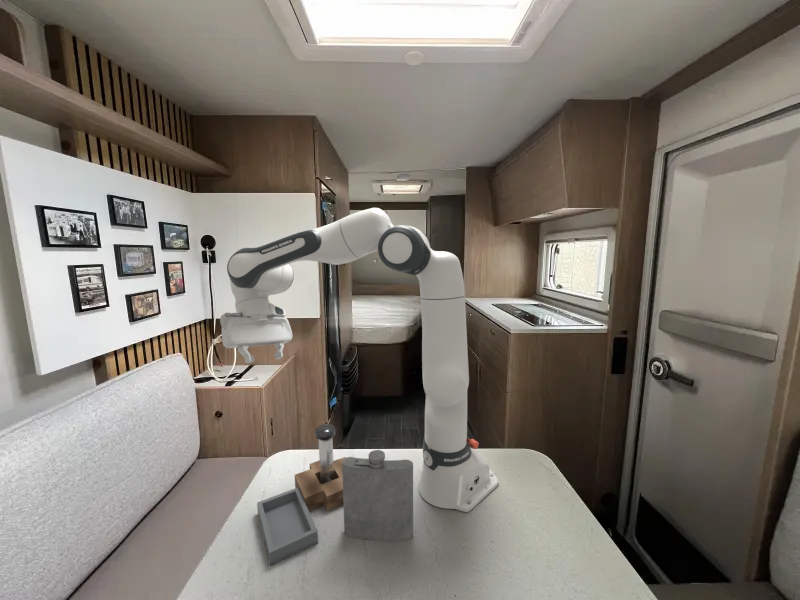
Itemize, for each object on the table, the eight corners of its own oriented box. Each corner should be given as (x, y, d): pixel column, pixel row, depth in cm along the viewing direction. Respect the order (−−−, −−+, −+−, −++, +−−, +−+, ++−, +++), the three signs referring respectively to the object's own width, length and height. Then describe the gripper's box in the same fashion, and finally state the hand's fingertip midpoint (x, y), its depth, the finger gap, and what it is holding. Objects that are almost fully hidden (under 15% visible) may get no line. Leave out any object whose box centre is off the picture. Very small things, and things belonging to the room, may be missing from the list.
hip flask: (413, 528, 76) (413, 449, 73) (412, 544, 72) (412, 461, 69) (346, 524, 77) (343, 446, 74) (341, 539, 73) (338, 457, 70)
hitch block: (342, 464, 99) (342, 452, 98) (364, 495, 86) (363, 481, 86) (293, 482, 91) (292, 469, 90) (308, 519, 78) (307, 504, 78)
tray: (298, 497, 86) (298, 487, 85) (317, 543, 72) (317, 531, 72) (257, 513, 80) (257, 502, 80) (270, 565, 67) (269, 553, 66)
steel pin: (333, 479, 92) (331, 422, 90) (340, 491, 88) (338, 430, 85) (315, 486, 89) (312, 427, 87) (321, 498, 85) (318, 436, 83)
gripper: (226, 308, 81) (237, 361, 78) (289, 310, 99) (301, 353, 96) (211, 317, 84) (222, 369, 81) (276, 317, 102) (286, 359, 99)
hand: (265, 360), depth 89 cm, fingers open, 8 cm apart
